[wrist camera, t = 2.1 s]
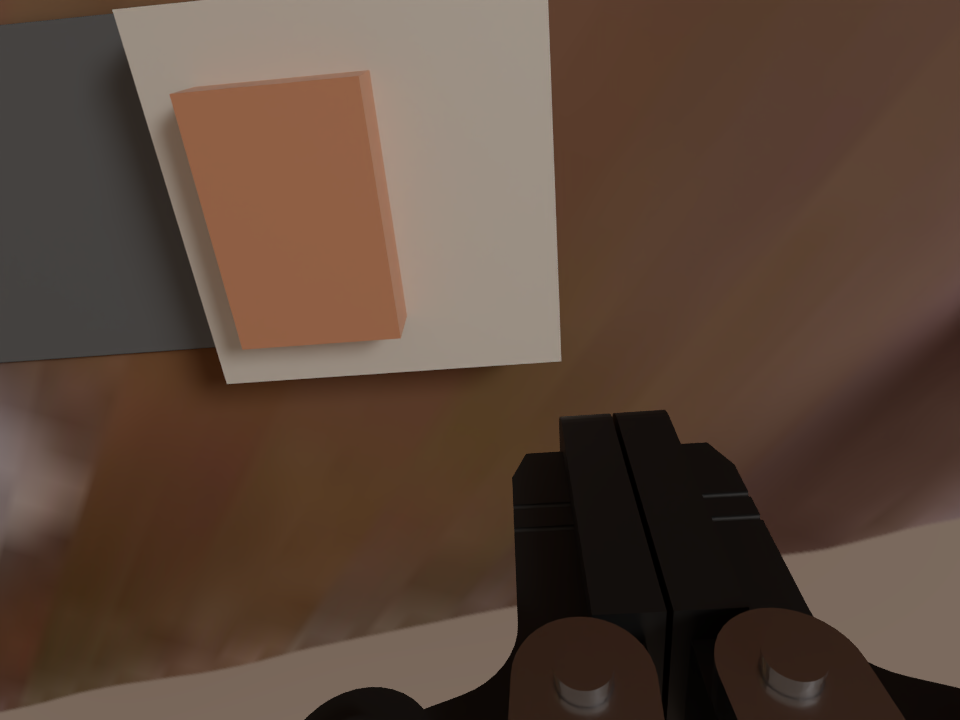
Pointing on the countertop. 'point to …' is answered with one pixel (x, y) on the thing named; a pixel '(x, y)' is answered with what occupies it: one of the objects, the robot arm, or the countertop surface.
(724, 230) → the countertop surface
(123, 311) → the mat
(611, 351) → the countertop surface
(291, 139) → the block
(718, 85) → the countertop surface
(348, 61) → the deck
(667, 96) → the countertop surface
